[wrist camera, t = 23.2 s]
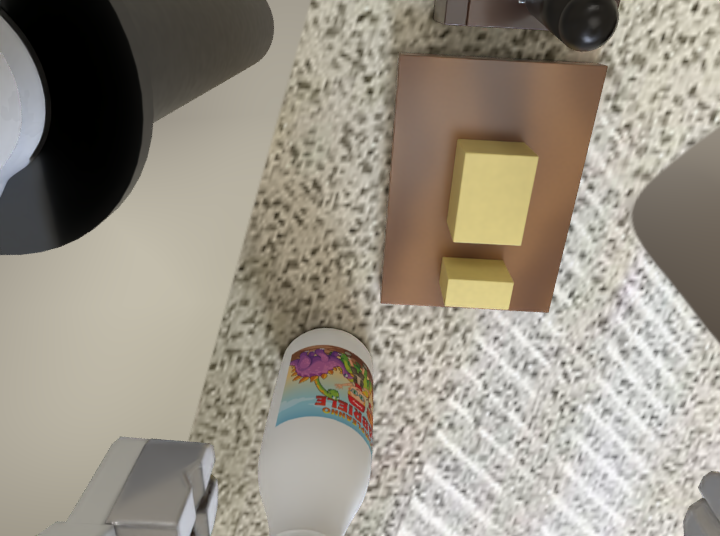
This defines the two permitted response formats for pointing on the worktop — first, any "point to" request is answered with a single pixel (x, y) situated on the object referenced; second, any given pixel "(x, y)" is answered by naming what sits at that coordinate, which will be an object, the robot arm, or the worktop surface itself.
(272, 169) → the worktop surface
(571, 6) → the knife
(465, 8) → the knife block
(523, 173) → the butter block
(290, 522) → the milk bottle
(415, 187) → the board
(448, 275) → the butter slice
